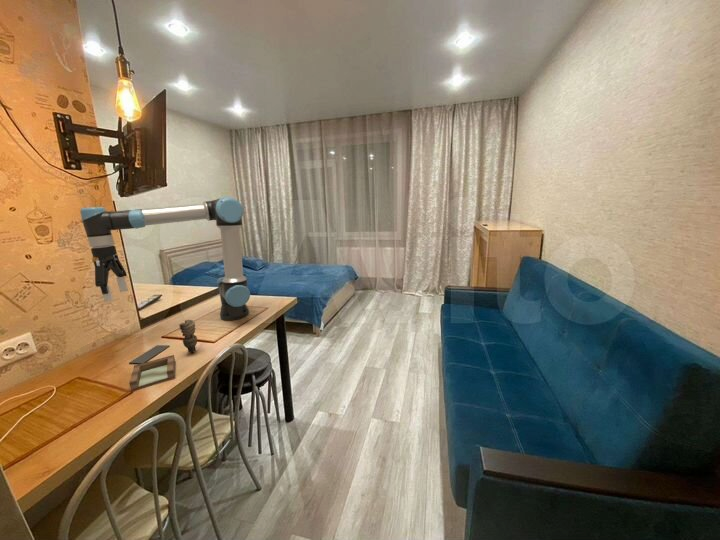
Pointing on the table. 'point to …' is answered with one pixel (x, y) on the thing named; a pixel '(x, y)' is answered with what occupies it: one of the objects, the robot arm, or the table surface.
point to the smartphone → (149, 354)
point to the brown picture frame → (152, 372)
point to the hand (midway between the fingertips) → (116, 296)
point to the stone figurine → (189, 335)
